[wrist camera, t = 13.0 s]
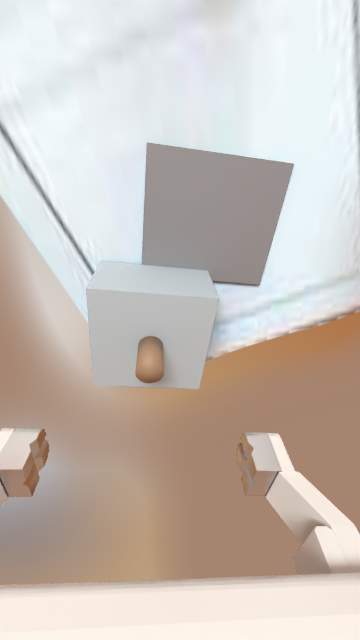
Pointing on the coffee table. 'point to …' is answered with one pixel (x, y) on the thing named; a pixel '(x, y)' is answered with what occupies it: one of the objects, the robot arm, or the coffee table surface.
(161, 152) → the mat
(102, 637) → the robot arm
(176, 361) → the cover
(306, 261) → the coffee table surface
